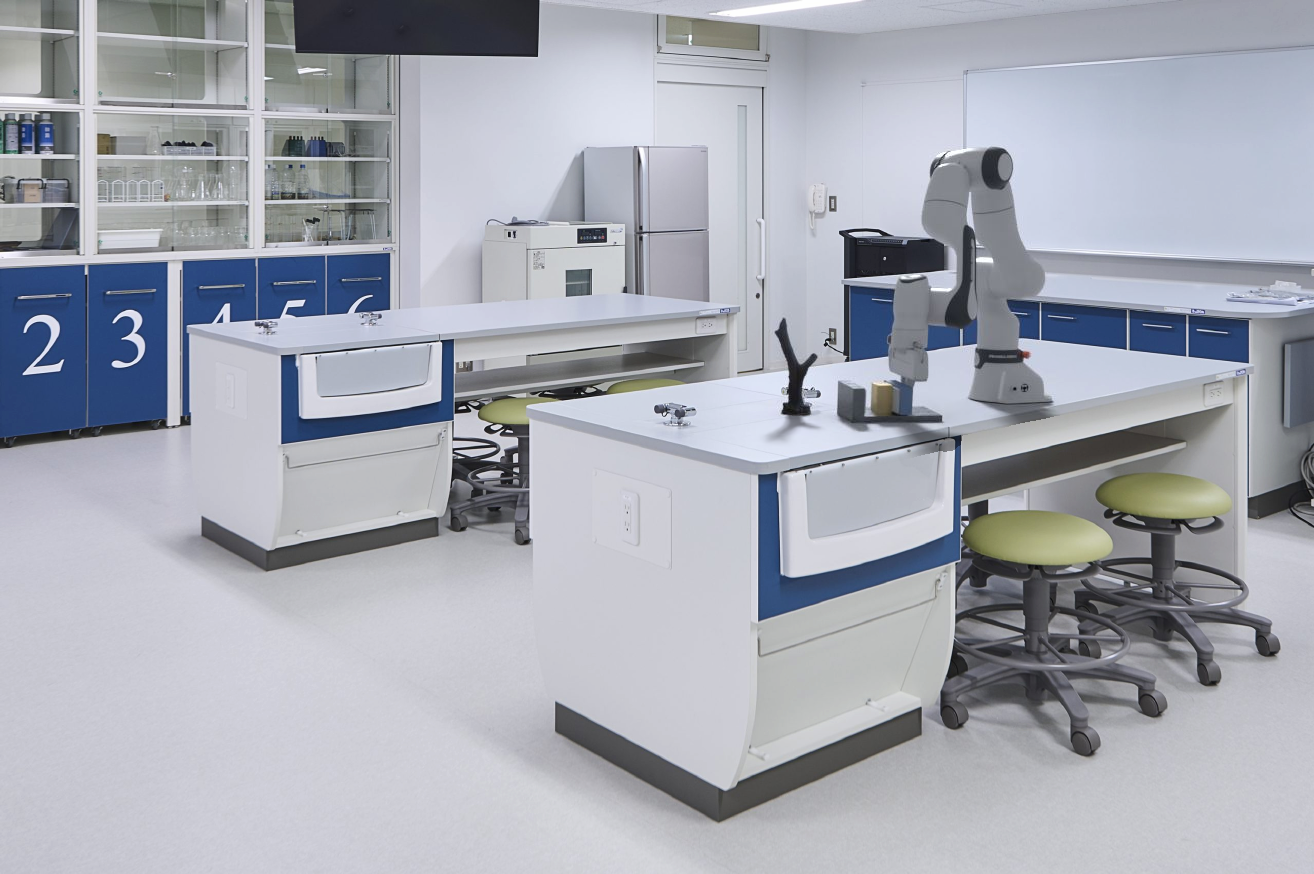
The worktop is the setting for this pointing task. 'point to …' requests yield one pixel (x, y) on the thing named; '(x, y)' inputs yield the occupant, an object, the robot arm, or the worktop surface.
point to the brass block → (881, 397)
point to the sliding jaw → (901, 397)
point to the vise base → (855, 410)
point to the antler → (794, 374)
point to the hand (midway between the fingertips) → (907, 394)
